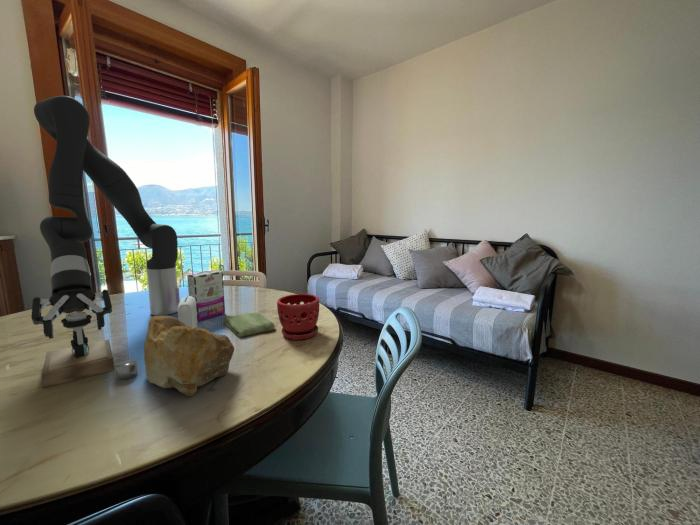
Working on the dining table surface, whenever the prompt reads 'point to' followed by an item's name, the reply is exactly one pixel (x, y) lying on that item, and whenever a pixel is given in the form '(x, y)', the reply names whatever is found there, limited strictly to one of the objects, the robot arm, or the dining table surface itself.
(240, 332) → the washcloth
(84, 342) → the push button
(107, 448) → the dining table surface
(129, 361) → the cylinder
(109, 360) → the tray
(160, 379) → the rough brown rock
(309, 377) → the dining table surface
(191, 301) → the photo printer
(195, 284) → the candy bar box
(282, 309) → the plant pot
